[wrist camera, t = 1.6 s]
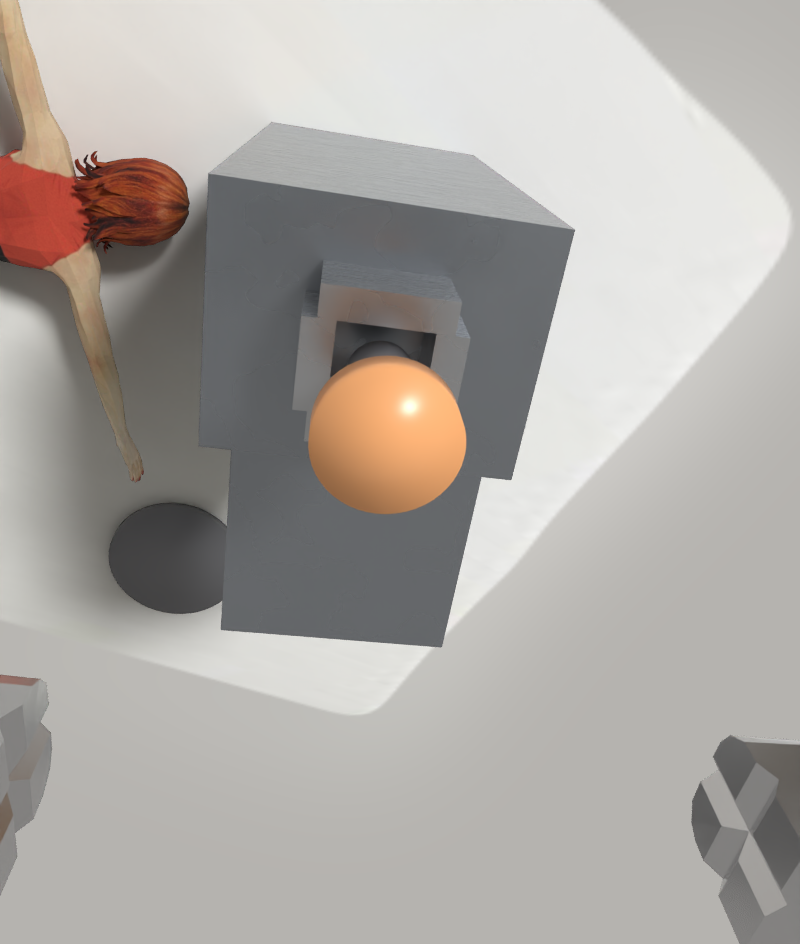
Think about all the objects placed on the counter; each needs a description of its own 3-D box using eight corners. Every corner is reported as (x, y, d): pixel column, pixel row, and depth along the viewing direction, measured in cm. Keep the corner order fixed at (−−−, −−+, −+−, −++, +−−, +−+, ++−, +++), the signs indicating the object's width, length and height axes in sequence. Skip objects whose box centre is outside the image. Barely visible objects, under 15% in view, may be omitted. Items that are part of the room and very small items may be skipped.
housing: (251, 409, 44) (178, 678, 25) (271, 122, 37) (191, 187, 18) (422, 429, 45) (478, 699, 26) (473, 155, 38) (601, 249, 19)
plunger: (309, 423, 21) (301, 506, 17) (322, 301, 19) (316, 362, 15) (431, 437, 21) (450, 521, 17) (454, 320, 20) (480, 382, 16)
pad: (112, 602, 50) (110, 608, 49) (110, 496, 46) (107, 501, 45) (237, 612, 51) (236, 618, 50) (244, 510, 47) (243, 515, 46)
